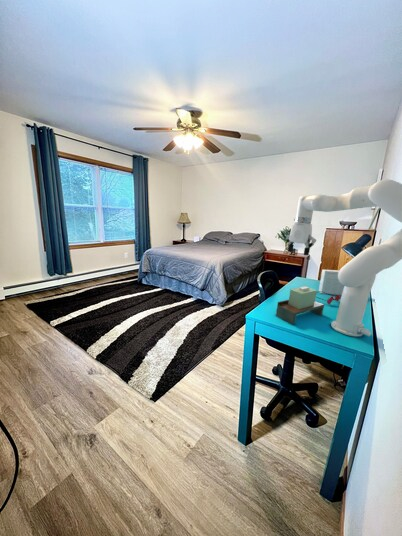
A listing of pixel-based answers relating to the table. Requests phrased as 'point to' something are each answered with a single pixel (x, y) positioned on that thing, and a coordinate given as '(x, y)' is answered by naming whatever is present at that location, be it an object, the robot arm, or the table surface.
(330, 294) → the glasses
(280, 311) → the stand
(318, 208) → the robot arm
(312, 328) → the table surface
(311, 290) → the tissue box
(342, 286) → the skincare box
